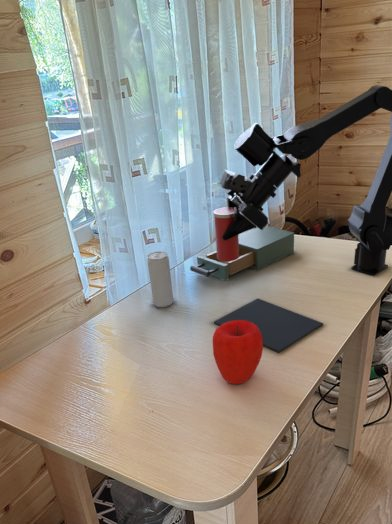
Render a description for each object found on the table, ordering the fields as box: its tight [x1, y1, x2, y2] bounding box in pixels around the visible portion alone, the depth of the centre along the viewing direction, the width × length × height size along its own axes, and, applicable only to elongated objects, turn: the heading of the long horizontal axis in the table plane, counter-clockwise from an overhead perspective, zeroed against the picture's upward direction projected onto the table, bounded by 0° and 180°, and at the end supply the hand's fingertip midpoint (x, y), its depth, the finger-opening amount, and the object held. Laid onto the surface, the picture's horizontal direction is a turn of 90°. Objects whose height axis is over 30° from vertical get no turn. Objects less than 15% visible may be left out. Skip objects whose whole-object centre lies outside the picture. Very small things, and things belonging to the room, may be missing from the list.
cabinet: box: [238, 225, 295, 271], centre depth 138 cm, size 15×11×6 cm
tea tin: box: [213, 206, 239, 261], centre depth 117 cm, size 5×5×11 cm
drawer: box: [189, 247, 255, 281], centre depth 131 cm, size 18×10×4 cm, turn 132°
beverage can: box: [146, 250, 174, 308], centre depth 117 cm, size 5×5×12 cm
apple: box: [212, 320, 264, 385], centre depth 90 cm, size 9×9×11 cm
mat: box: [213, 298, 324, 354], centre depth 108 cm, size 18×14×1 cm
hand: (221, 234), depth 117 cm, fingers closed on tea tin, 5 cm apart
